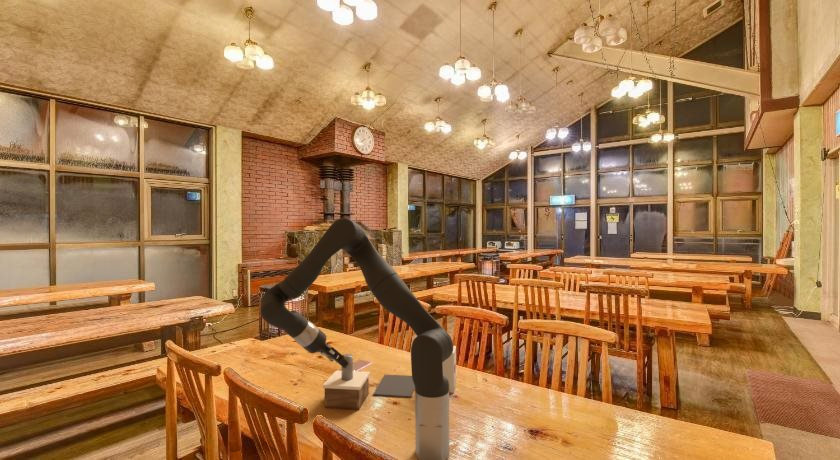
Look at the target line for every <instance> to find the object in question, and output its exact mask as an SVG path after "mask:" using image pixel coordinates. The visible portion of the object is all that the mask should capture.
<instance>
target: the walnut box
mask: <svg viewBox="0 0 840 460" xmlns="http://www.w3.org/2000/svg"><path fill="white" fill-rule="evenodd" d="M369 386H370V385H369V378H368V379H367V380H366V382H365V383H364V384H363V386H362V387H361V389H360V390H351V389H332V388H324V408H325V409H337V410H352V411H353V410H355V411H359V410H360V409H361V408H362V406H363V404H364V403H365V401H366V400H367V398H368V396H369V394H370V393H369V392H370V391H369V388H370V387H369Z"/></svg>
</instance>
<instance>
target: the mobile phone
mask: <svg viewBox="0 0 840 460" xmlns="http://www.w3.org/2000/svg"><path fill="white" fill-rule="evenodd" d="M372 364H373V362H372V361H368V360H363V359H358V360H356V361H353V371H361V370H363V369H365V368H367V367H369V366H370V365H372ZM338 371H341V368H340V369H338Z"/></svg>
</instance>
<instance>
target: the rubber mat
mask: <svg viewBox="0 0 840 460" xmlns="http://www.w3.org/2000/svg"><path fill="white" fill-rule="evenodd" d="M414 392H415V385H414V382H413V379H412V375H404V374H403V375H402V374H401V375H400V374H399V375H397V374H384V375H383V376H382V378H381V379H380V382H379V383H378V385H377V387H376V389H375V390H374V392H373V393H372V394H373V396H374V397H390V398H391V397H392V398H410V399H411V398H412V397H413V394H414Z"/></svg>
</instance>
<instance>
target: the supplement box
mask: <svg viewBox="0 0 840 460" xmlns="http://www.w3.org/2000/svg"><path fill="white" fill-rule="evenodd" d="M442 366H443V376H444V377H446V378H447V379H448V381H449V394H454V393H455V391H456V390H455V389H456V386H457V346H456V345H453V352H452V354H451V356H450V357H449V358H448V359H446V360H445V361H444V362H443V363H442Z"/></svg>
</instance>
